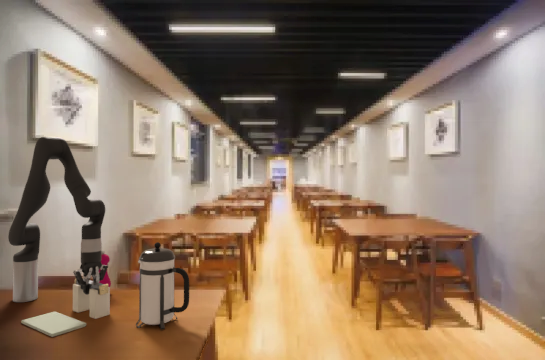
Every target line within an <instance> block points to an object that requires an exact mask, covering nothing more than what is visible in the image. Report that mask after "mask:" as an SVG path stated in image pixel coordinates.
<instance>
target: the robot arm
mask: <svg viewBox="0 0 545 360" xmlns="http://www.w3.org/2000/svg"><path fill="white" fill-rule="evenodd" d="M50 160H59V162H60V163H61V164H62V166H63V167H64V168H63V169H64V174H63V176H64V177H63V181H64V184H65V186H66V189H67V190H68V192H69V193H70V194H71V196H72V198H73V203H74V206H75V207H74V208H75V210H76V213H77V214H78V215H79V216H80V217H82V218H84V219H86V218H87V219H88V222H86V223H84V224H83V225H82V226H81V241H80V266H79V269H77V270H73V272H72V273H73V275H74V277H75V279H77V282H78V283H79V284H82V285H83V292H84V293H85V294H86V295H88V294H89V285H88V284H89V280H91V278H92V281H94V282H98V283H99V281H101V280H103V279H104V276H105V274H106V271H107V272H108V268H109V265H108V266H106V265H102V263H101V259H102V251H103V250H102V249H103V247H102V245H103V244H102V225H103V223H104V218H105V214H106V204H105V203H104V202H103V200H101V199H98V198H97V199H95V198H94V199H89V198H88V197H89V196H90V195H91V193H92V191H91V188H90V186H89V185H88V183H87V181H86V180H85V179H84V177H83V176H82V174H81V172H80V169H79V167H78V165H77V162H76V159H75V157H74V155H73V153H72V150H71V147H70V146H69V143H68V141H66V139H64V138H63V137H58V136H41V137H39V138H38V139H37V141H36V143H35V145H34V149H33V156H32V159H31V164H30V165H31V166H30V168H29V173H28V177H27V180H26V183H25V186H24V188H23V192H22V195H21V199H20V202H19V204H18V205H19V206H18V209H17V212H16V214H15V216H14V218H13V220H12V223H11V225H10V228H9V231H8V234H7V235H8V242H9V244H10V245H12V246H14V247H15V246H17V247H19V246H24V247H23V249H21V250H19V251H18V252H16V253H15V254H14V255H12V256H13V257H12V302H14V303H25V302H32V301H34V300H37V299H38V298H39V297H38V296H39V295H38V294H39V288H38V287H39V253H40V246H41V245H40V244H41V229H40V227H39V225H38V224H37V223H35V222H30V223H29V221H30V220H31V218H32V217H34V215H36V214H37V212H38V211H40V209H41V208H43V207H44V206H45V205H46V202H47V201H48V198H49V195H50V191H51V184H50V180H49V178H48V176H47V172H46V171H47V166H48V162H49V161H50ZM100 269H101V270H100ZM99 270H100V272H99ZM82 277H83V278H82Z"/></svg>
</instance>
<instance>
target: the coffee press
mask: <svg viewBox="0 0 545 360" xmlns="http://www.w3.org/2000/svg"><path fill="white" fill-rule="evenodd" d="M161 246H162V245H161V243H160V241H159V242H155V243H154V244H153V247H154V248H149V249H145V250H144V251H142V252H141V254H140V256H139V257H138V261H137V263H138V264H139V291H138V292H139V303H138V306H139V309H138V310H139V311H138V312H139V313H138V320H137V322H136V323H135V326H136V328H138V329H140V328H141V327H142V325H150V326H151V325H152V326H156V325H158V327H159V330H160V329H161V330H160V331H163V330H162V329H164V330H166V326H165V324H166V323H168V322H170V321H171V320H173V318H174V317H175V318H176V319H177V320H178V317H177V316H176V314H175V313H182V312H184V311H186V309H187V308H188V307H189V303H190V277H189V274H188V272H187V271H186V270H185V269H183V268H180V267H176V266H175V259H176V255H175V253H174V251H173V250H171V249H169V248H165V247H164V248H163V247H161ZM175 273H176V274H180V275H181V277H182V279H183V303H182V305H181V307H179V306H178V307H175ZM173 321H174V320H173ZM140 322H141V323H140ZM139 323H140V324H139Z"/></svg>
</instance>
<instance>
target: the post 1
mask: <svg viewBox="0 0 545 360" xmlns="http://www.w3.org/2000/svg"><path fill="white" fill-rule="evenodd" d="M85 311H90V291H89V294H88V295H86V294H85V293H84V292H83V289H81V285H78V284H75V283H72V312H74V313H75V312H76V313H81V312H85Z"/></svg>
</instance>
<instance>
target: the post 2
mask: <svg viewBox="0 0 545 360" xmlns="http://www.w3.org/2000/svg"><path fill="white" fill-rule="evenodd" d="M110 300H111V286H110V287H108V293H106V294H103V295H99V294H98V290H95V289H90V309H89V318H92V319H95V320H96V319H99V318H103V317H105V316H109V315H111V312H110V311H111V307H110V306H111V305H110V304H111V301H110Z"/></svg>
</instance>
